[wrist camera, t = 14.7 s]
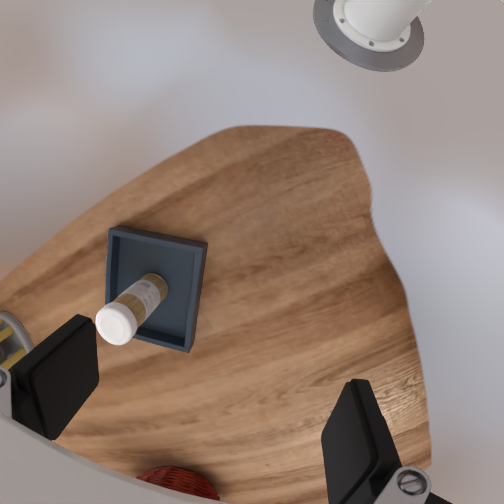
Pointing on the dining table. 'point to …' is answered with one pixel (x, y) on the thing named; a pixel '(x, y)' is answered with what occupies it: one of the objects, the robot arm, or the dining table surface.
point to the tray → (170, 269)
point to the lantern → (12, 341)
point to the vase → (180, 481)
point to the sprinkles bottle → (131, 309)
